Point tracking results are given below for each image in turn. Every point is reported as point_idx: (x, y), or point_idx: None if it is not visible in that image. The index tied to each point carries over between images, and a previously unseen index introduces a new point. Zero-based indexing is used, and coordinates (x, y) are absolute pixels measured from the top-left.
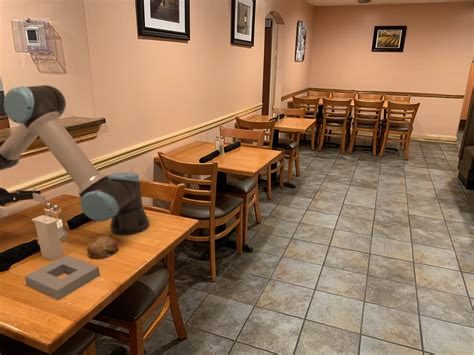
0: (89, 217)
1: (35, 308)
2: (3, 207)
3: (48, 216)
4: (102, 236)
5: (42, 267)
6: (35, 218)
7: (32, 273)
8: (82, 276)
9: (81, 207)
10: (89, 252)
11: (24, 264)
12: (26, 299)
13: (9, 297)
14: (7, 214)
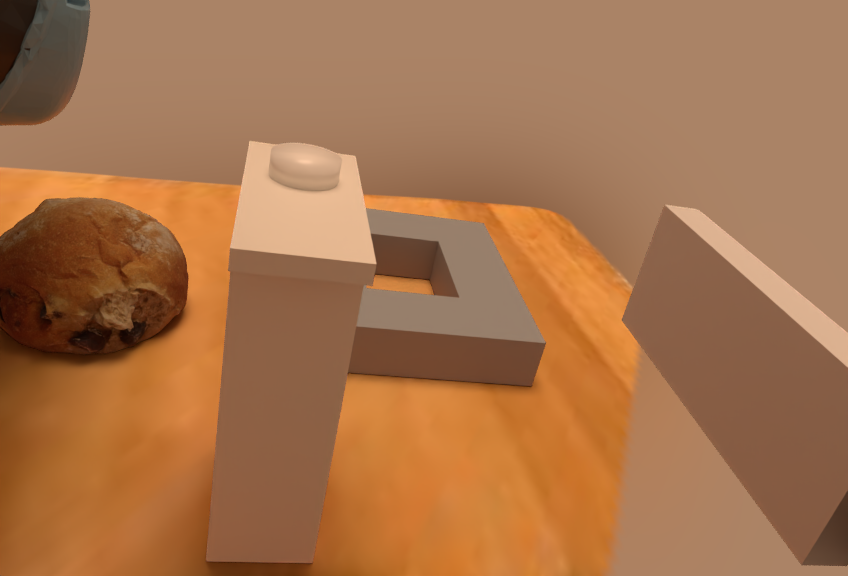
0: (69, 99)
1: (549, 280)
2: (702, 232)
3: (277, 159)
4: (77, 204)
5: (449, 333)
6: (341, 248)
7: (509, 332)
8: (374, 212)
9: (89, 16)
10: (184, 284)
11: (463, 573)
12: (560, 324)
13: (615, 375)
14: (627, 307)
